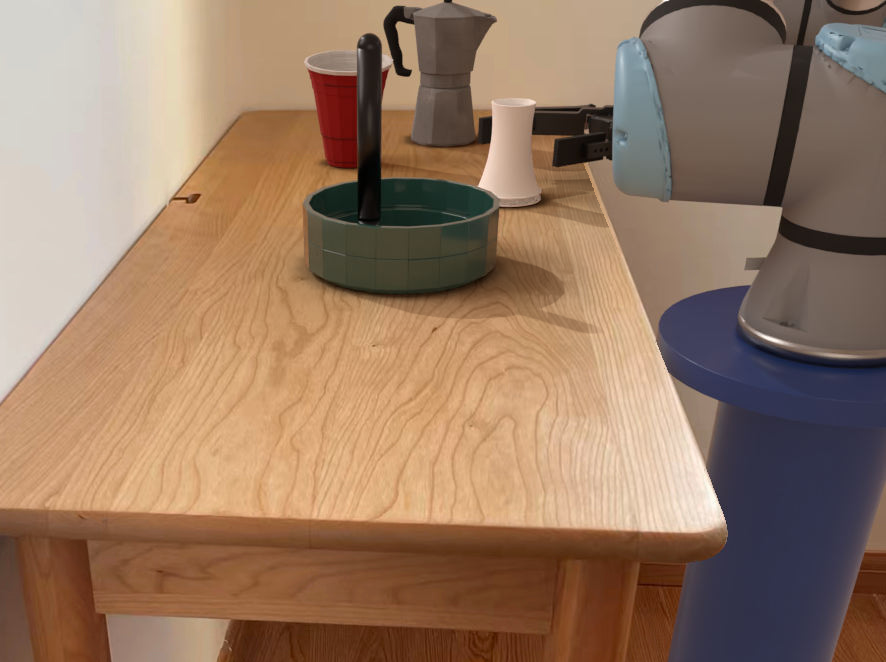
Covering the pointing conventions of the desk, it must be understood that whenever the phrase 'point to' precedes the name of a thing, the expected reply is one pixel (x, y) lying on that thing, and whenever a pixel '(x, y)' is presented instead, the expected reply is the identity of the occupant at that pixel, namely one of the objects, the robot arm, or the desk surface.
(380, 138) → the black stick
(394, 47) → the coffeepot
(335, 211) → the bowl
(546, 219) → the desk surface
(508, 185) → the vase
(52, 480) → the desk surface
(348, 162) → the plastic cup
